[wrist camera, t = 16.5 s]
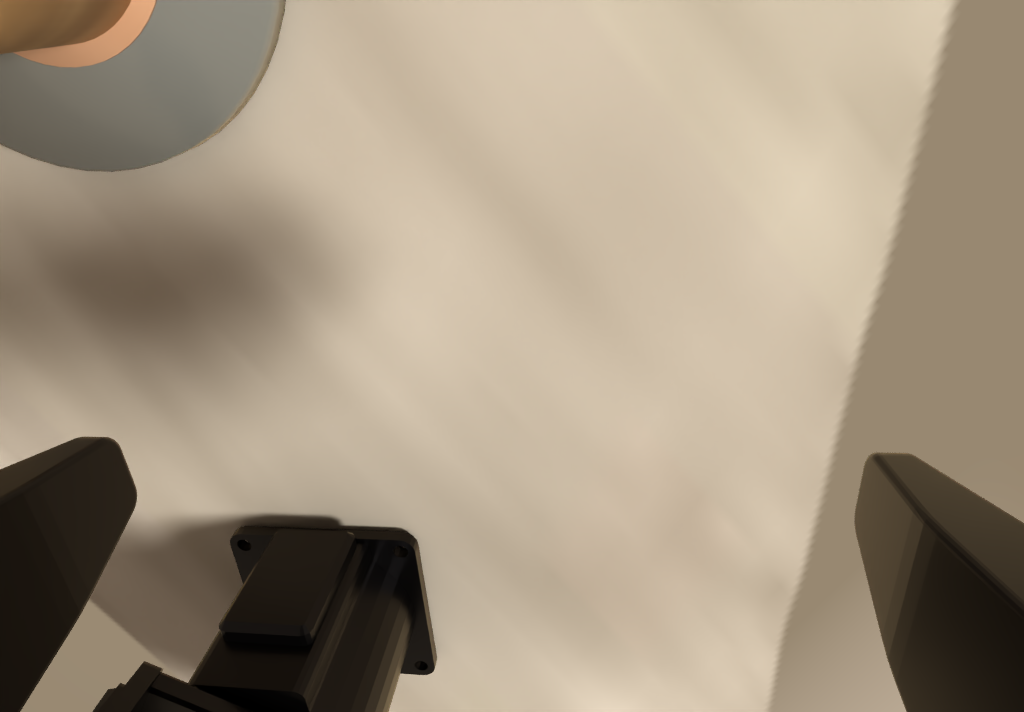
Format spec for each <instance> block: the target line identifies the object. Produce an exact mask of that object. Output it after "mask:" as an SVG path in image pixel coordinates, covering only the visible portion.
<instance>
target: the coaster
mask: <svg viewBox="0 0 1024 712" xmlns="http://www.w3.org/2000/svg"><path fill="white" fill-rule="evenodd" d="M285 2H286V0H131V2H130V5H129V6H128V8H127V10H126V11H125V13H124V14H123V16H122V17H121V18H120V20H119V21H118V22H117V23H116V24H115V25H114V26H113V27H112V28H111V29H109V30H108V31H107V32H106V33H104V34H102V35H101V36H99V37H97V38H95V39H93V40H90V41H87V42H84V43H78V44H72V45H64V46H57V47H49V48H42V49H34V50H27V51H20V52H12V53H5V54H0V144H2V145H4V146H6V147H8V148H10V149H13V150H15V151H17V152H20V153H22V154H24V155H27V156H29V157H31V158H34V159H37V160H41V161H44V162H48V163H51V164H54V165H58V166H62V167H68V168H74V169H79V170H85V171H111V172H113V171H122V170H131V169H139V168H142V167H146V166H149V165H153V164H157V163H160V162H163V161H166V160H168V159H170V158H173V157H175V156H177V155H180V154H182V153H184V152H186V151H188V150H191V149H193V148H195V147H197V146H199V145H201V144H203V143H204V142H206V141H207V140H208V139H210V138H211V137H213V136H214V135H216V134H217V133H219V132H220V131H221V130H222V129H223V128H224V127H226V126H227V125H228V124H229V123H230V122H231V121H232V120H233V119H234V118H235V117H236V116H237V115H238V114H239V113H240V111H241V110H242V109H243V108H244V106H245V105H246V104H247V102H248V101H249V100H250V98H251V97H252V96H253V94H254V93H255V91H256V89H257V87H258V86H259V84H260V82H261V80H262V78H263V76H264V74H265V73H266V71H267V69H268V66H269V64H270V61H271V58H272V55H273V53H274V50H275V47H276V44H277V42H278V38H279V33H280V29H281V24H282V20H283V15H284V11H285Z"/></svg>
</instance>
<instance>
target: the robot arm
mask: <svg viewBox="0 0 1024 712" xmlns="http://www.w3.org/2000/svg"><path fill="white" fill-rule="evenodd" d="M136 501H137V490H136V486H135V484H134V481H133V478H132V476H131V473H130V471H129V468H128V465H127V463H126V460H125V458H124V455H123V453H122V450H121V448H120V446H119V444H118V443H117V442H116V441H115V440H114V439H111V438H109V437H79V438H76V439H73V440H71V441H68V442H66V443H63V444H61V445H58V446H56V447H54V448H51V449H49V450H46V451H44V452H42V453H39V454H37V455H34V456H32V457H29V458H27V459H25V460H22V461H20V462H17V463H15V464H13V465H10V466H8V467H5V468H3V469H0V712H20V711H21V709H22V707H23V706H24V705H25V703H26V701H27V700H28V698H29V696H30V695H31V693H32V691H33V690H34V688H35V687H36V685H37V684H38V682H39V681H40V679H41V677H42V676H43V674H44V673H45V671H46V670H47V668H48V666H49V665H50V663H51V661H52V660H53V658H54V657H55V655H56V654H57V652H58V650H59V649H60V647H61V646H62V644H63V642H64V641H65V639H66V638H67V636H68V634H69V633H70V631H71V630H72V628H73V626H74V624H75V623H76V621H77V619H78V618H79V616H80V614H81V613H82V611H83V609H84V607H85V605H86V603H87V602H88V600H89V598H90V596H91V594H92V592H93V590H94V588H95V586H96V584H97V582H98V580H99V578H100V576H101V574H102V572H103V570H104V568H105V566H106V564H107V562H108V560H109V558H110V556H111V554H112V552H113V550H114V548H115V546H116V544H117V542H118V540H119V538H120V537H121V535H122V533H123V531H124V529H125V527H126V525H127V523H128V521H129V519H130V517H131V515H132V513H133V511H134V508H135V505H136ZM855 530H856V535H857V540H858V544H859V548H860V552H861V556H862V560H863V564H864V568H865V572H866V576H867V580H868V584H869V588H870V592H871V596H872V600H873V605H874V608H875V612H876V617H877V621H878V625H879V628H880V633H881V636H882V641H883V644H884V647H885V651H886V655H887V659H888V662H889V665H890V668H891V671H892V674H893V677H894V679H895V682H896V685H897V688H898V690H899V693H900V696H901V698H902V701H903V704H904V706H905V709H906V711H907V712H1024V523H1023V522H1021V521H1019V520H1018V519H1016V518H1014V517H1013V516H1011V515H1010V514H1008V513H1006V512H1005V511H1003V510H1002V509H1000V508H998V507H997V506H995V505H994V504H992V503H990V502H989V501H987V500H985V499H984V498H982V497H980V496H979V495H977V494H976V493H974V492H972V491H970V490H969V489H968V488H966V487H964V486H963V485H961V484H960V483H958V482H956V481H955V480H953V479H951V478H950V477H948V476H947V475H945V474H943V473H942V472H940V471H939V470H937V469H935V468H934V467H932V466H930V465H929V464H927V463H926V462H924V461H922V460H921V459H919V458H917V457H916V456H914V455H912V454H909V453H873V454H871V455H870V456H868V458H867V460H866V462H865V465H864V469H863V474H862V479H861V485H860V489H859V494H858V499H857V504H856V509H855ZM245 540H246V541H245ZM247 541H248V542H247ZM230 544H231V548H232V551H233V554H234V557H235V560H236V563H237V566H238V569H239V572H240V575H241V578H242V582H243V586H242V587H241V589H240V591H239V592H238V594H237V596H236V597H235V599H234V601H233V602H232V604H231V606H230V607H229V609H228V610H227V612H226V614H225V615H224V617H223V619H222V620H221V622H220V625H219V629H220V631H219V632H218V634H217V636H216V637H215V639H214V641H213V642H212V644H211V646H210V647H209V649H208V651H207V652H206V654H205V656H204V657H203V659H202V661H201V662H200V664H199V666H198V667H197V669H196V671H195V672H194V674H193V676H192V677H191V679H190V681H189V682H188V683H186V682H184V681H181V680H179V679H177V678H174V677H172V676H169V675H167V674H164V673H162V671H163V669H162V668H160V667H157V666H155V665H152V664H150V663H148V662H143V664H142V665H141V666H140V667H139V669H138V670H137V671H136V672H135V674H134V675H133V676H132V677H131V679H130V680H129V681H128V682H127V684H126V685H124V684H122V683H120V684H119V685H118V687H117V688H114V689H108V690H107V692H106V693H105V695H104V696H103V698H102V699H101V700H100V702H99V703H98V705H97V706H96V707H95V709H94V710H93V712H389V708H390V705H391V702H392V699H393V695H394V692H395V689H396V685H397V682H398V679H399V676H400V673H402V674H417V675H428V674H430V673H432V672H433V671H434V669H435V665H436V661H437V654H436V648H435V642H434V636H433V630H432V624H431V618H430V612H429V606H428V600H427V594H426V588H425V582H424V576H423V570H422V564H421V558H420V552H419V546H418V542H417V540H416V539H415V538H414V537H413V536H412V535H410V534H408V533H405V532H391V531H364V530H338V529H311V528H284V527H258V526H243V527H240V528H238V529H237V530H236V532H235V533H234V535H233V536H232V538H231V540H230ZM398 546H402V547H404V548H406V549H402V548H400V547H398Z"/></svg>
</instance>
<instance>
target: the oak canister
mask: <svg viewBox="0 0 1024 712" xmlns="http://www.w3.org/2000/svg"><path fill="white" fill-rule="evenodd" d="M130 2H131V0H0V54H5V53H12V52H20V51H27V50H34V49H42V48H49V47H57V46H64V45H72V44H78V43H84V42H87V41H90V40H93V39H95V38H97V37H99V36H101V35H102V34H104V33H106V32H107V31H108V30H109V29H111V28H112V27H113V26H114V25H115V24H116V23H117V22H118V21H119V20H120V18H121V17H122V16H123V14H124V13H125V11H126V10H127V8H128V6H129V5H130Z"/></svg>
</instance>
